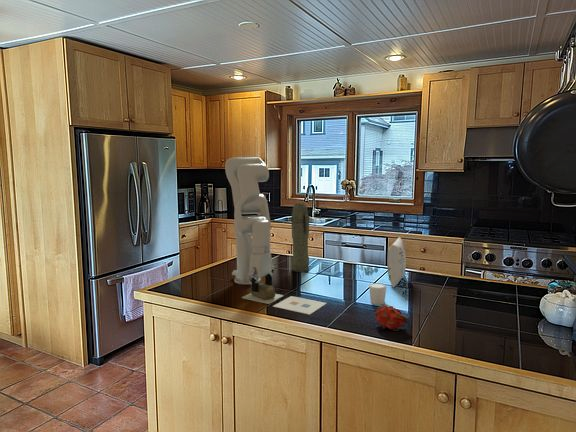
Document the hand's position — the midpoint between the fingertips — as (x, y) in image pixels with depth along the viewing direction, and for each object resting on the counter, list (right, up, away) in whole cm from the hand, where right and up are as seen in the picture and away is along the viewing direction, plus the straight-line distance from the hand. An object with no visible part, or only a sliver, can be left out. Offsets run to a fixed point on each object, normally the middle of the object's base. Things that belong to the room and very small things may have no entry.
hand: (262, 288), depth 177 cm
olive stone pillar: (+18, +2, +42) cm, 45 cm away
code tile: (+16, -5, -10) cm, 19 cm away
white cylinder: (+48, -5, -8) cm, 48 cm away
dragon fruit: (+47, -8, -33) cm, 58 cm away
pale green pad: (0, -4, 0) cm, 4 cm away
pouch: (+62, -1, +18) cm, 65 cm away
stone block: (0, -4, 0) cm, 4 cm away
